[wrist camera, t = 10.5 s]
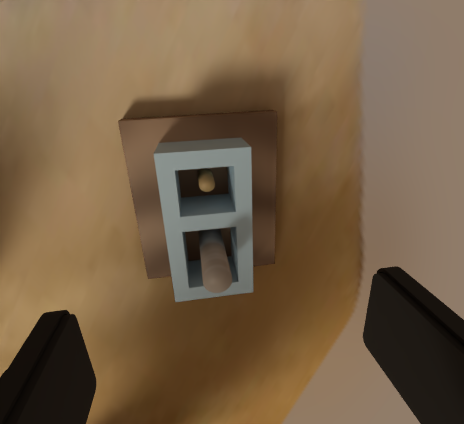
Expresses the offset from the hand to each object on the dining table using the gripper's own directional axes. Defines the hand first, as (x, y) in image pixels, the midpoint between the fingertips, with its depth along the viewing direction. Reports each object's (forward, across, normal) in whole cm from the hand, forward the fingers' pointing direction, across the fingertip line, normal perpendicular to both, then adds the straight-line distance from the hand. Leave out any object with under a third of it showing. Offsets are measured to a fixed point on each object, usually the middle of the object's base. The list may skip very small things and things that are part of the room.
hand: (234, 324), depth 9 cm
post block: (+18, 0, +2) cm, 18 cm away
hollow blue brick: (+16, 0, +3) cm, 17 cm away
